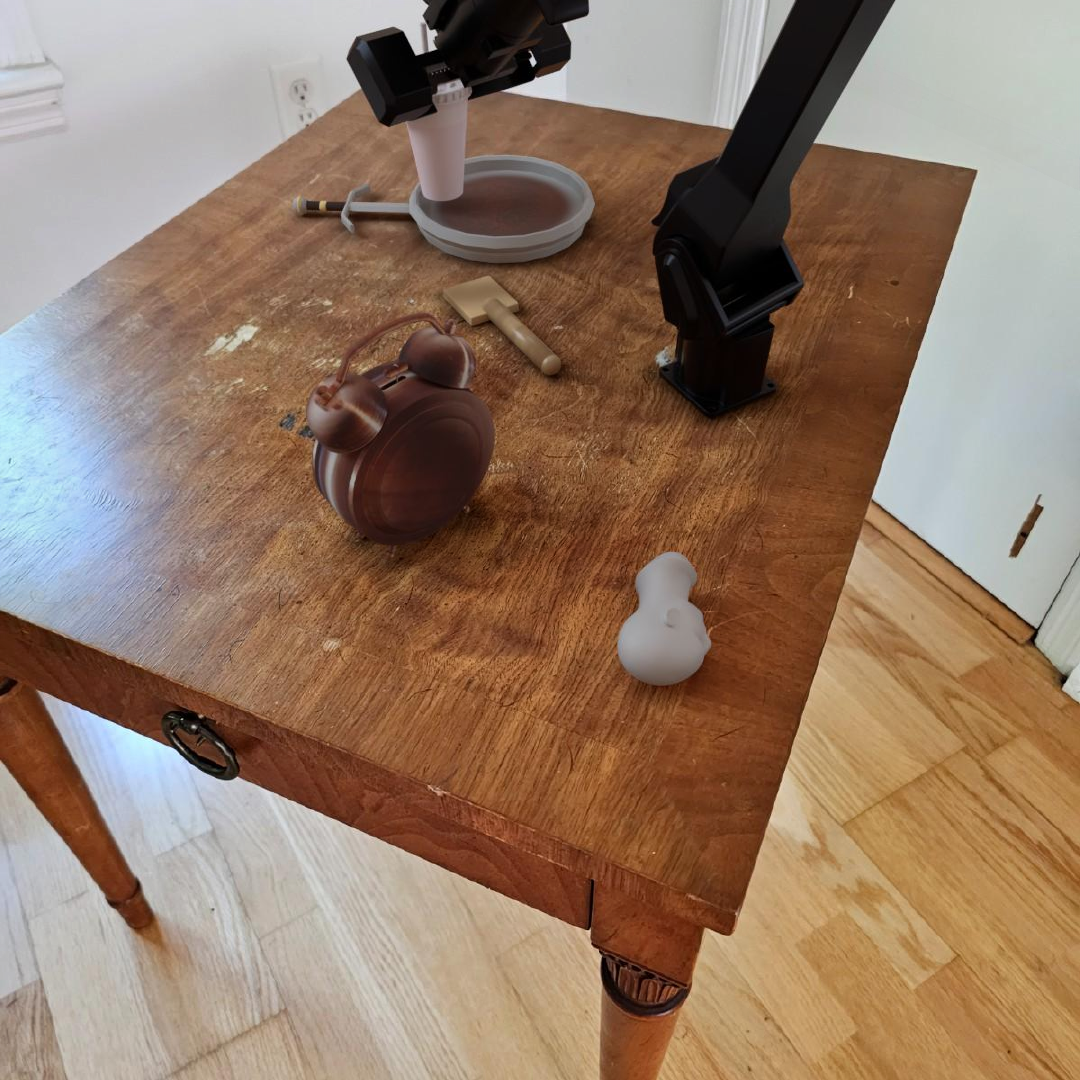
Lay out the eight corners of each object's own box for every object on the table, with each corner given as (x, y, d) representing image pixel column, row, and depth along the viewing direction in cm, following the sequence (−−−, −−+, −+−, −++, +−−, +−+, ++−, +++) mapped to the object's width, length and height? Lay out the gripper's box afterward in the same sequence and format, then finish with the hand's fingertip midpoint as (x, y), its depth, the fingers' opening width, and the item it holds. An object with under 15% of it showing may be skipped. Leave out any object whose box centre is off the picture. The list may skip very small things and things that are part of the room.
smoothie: (435, 171, 90) (420, 7, 80) (491, 186, 88) (483, 19, 78) (393, 197, 86) (372, 29, 76) (451, 214, 84) (437, 42, 74)
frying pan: (309, 149, 94) (596, 151, 92) (315, 178, 96) (595, 180, 95) (266, 236, 82) (594, 239, 81) (274, 267, 84) (593, 270, 83)
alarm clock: (456, 469, 65) (441, 270, 54) (503, 505, 62) (497, 305, 52) (320, 547, 60) (274, 345, 49) (366, 590, 57) (327, 387, 46)
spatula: (580, 369, 73) (581, 352, 72) (530, 387, 71) (530, 370, 70) (489, 283, 81) (488, 266, 80) (443, 297, 80) (441, 280, 79)
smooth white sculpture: (682, 717, 53) (597, 680, 52) (706, 607, 58) (629, 573, 58) (716, 680, 49) (626, 640, 49) (738, 567, 55) (657, 531, 54)
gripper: (551, -130, 72) (467, -5, 86) (342, -88, 64) (285, 43, 77) (617, 11, 74) (524, 112, 88) (422, 71, 65) (353, 172, 79)
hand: (426, 107), depth 83 cm, fingers closed on smoothie, 6 cm apart
